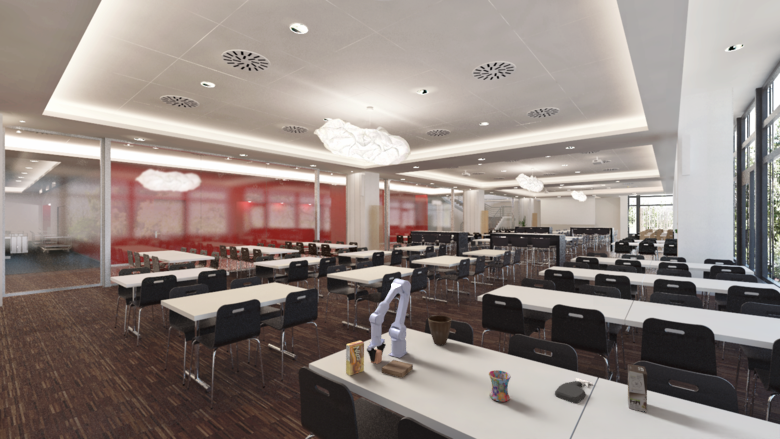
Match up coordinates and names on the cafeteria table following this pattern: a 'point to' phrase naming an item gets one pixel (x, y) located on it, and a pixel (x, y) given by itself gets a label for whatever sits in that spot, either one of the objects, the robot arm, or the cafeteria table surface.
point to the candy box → (354, 357)
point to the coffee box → (637, 387)
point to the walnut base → (397, 368)
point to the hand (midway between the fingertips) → (376, 359)
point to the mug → (499, 385)
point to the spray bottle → (572, 390)
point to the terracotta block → (378, 356)
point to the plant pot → (439, 328)
